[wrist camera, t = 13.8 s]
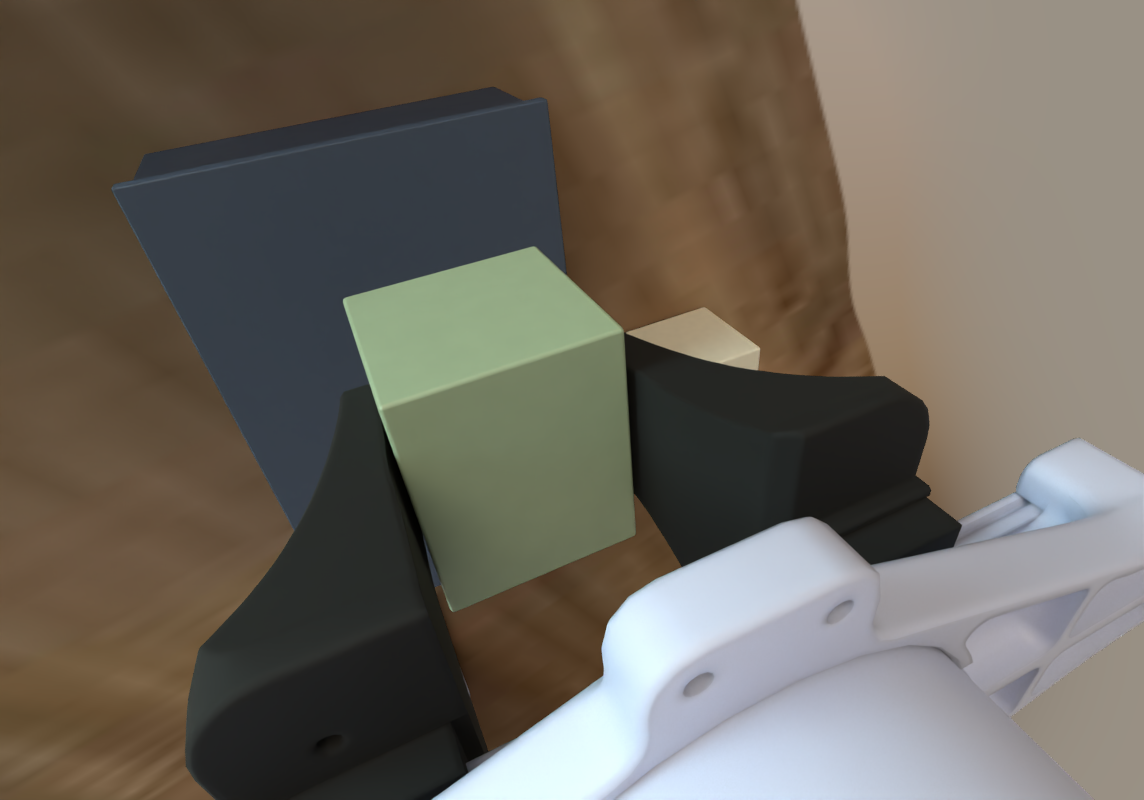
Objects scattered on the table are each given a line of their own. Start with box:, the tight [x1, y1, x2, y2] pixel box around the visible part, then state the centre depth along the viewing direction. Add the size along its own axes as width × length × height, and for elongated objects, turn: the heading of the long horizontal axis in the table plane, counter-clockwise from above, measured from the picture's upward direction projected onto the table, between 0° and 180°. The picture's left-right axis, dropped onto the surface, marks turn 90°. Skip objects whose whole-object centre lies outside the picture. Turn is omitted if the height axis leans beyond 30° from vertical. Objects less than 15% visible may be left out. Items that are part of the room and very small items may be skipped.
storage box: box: [112, 87, 567, 587], centre depth 22 cm, size 16×10×4 cm, turn 7°
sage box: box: [343, 246, 636, 612], centre depth 13 cm, size 5×4×4 cm
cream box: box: [626, 307, 760, 370], centre depth 27 cm, size 4×4×4 cm
